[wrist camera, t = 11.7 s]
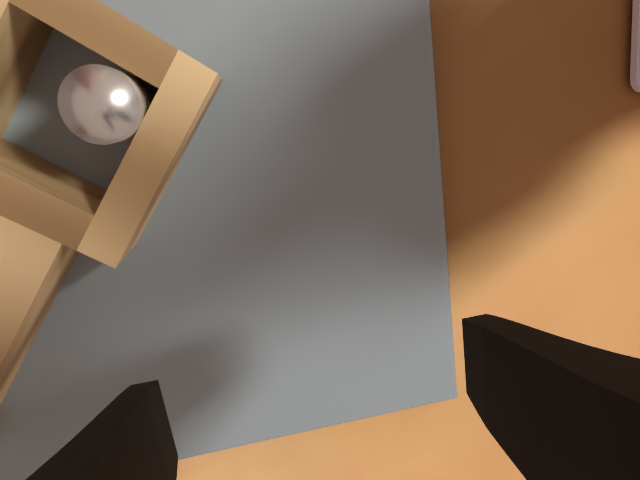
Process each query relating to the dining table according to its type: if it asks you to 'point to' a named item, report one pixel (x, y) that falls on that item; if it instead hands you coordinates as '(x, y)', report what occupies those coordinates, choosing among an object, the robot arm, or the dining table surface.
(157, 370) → the board
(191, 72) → the link
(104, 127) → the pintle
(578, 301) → the dining table surface
